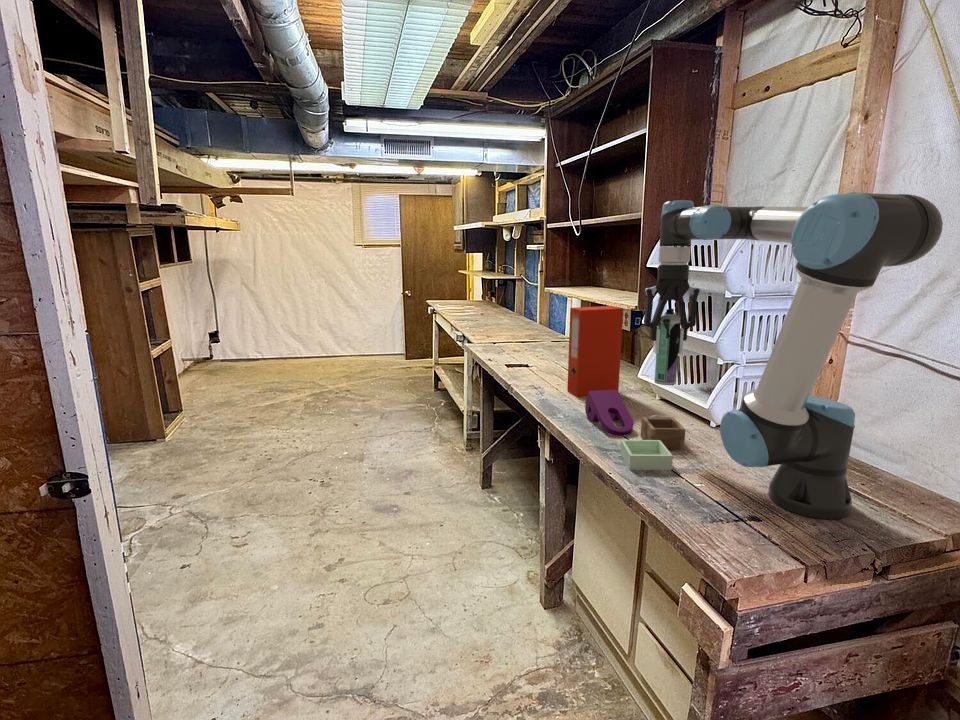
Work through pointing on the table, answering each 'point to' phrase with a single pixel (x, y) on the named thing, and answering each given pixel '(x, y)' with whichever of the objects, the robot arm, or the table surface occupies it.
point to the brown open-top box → (663, 431)
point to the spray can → (668, 349)
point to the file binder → (594, 349)
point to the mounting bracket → (608, 411)
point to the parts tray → (646, 455)
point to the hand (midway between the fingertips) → (667, 352)
